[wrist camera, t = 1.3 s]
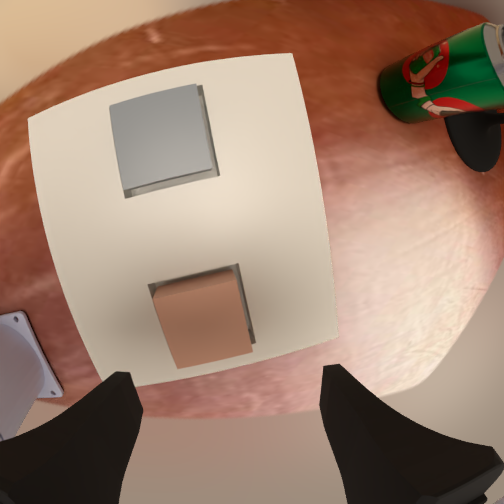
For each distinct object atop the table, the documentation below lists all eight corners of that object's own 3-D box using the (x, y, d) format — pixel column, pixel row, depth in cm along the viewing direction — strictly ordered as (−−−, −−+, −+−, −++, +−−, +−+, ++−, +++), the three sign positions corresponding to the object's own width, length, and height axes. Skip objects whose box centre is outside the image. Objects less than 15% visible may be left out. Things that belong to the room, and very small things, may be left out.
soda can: (431, 106, 20) (545, 86, 8) (402, 135, 20) (532, 120, 8) (398, 57, 18) (506, 11, 7) (364, 82, 18) (485, 28, 7)
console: (115, 366, 20) (107, 390, 17) (48, 126, 15) (27, 118, 12) (321, 319, 22) (338, 337, 19) (278, 70, 17) (292, 53, 14)
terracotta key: (178, 351, 17) (177, 369, 15) (157, 286, 16) (152, 299, 14) (247, 335, 18) (253, 352, 16) (231, 269, 17) (236, 279, 15)
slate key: (132, 189, 15) (123, 190, 13) (119, 114, 14) (109, 105, 12) (210, 170, 16) (212, 168, 14) (196, 95, 14) (196, 83, 13)
